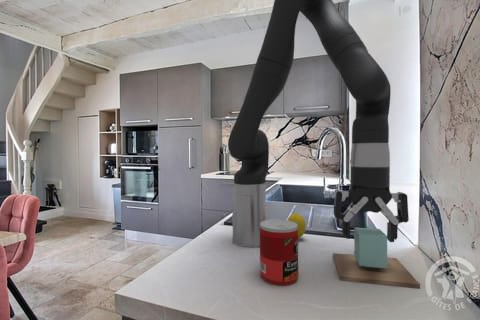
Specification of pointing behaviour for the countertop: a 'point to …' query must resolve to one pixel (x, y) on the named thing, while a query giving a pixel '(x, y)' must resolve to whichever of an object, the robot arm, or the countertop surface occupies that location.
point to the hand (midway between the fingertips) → (368, 239)
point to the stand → (374, 272)
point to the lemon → (298, 223)
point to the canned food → (279, 251)
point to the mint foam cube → (370, 247)
